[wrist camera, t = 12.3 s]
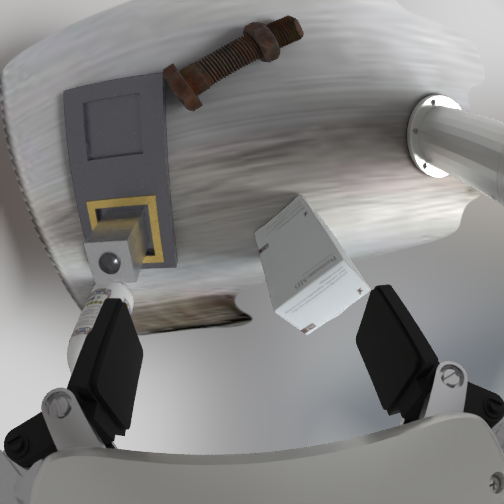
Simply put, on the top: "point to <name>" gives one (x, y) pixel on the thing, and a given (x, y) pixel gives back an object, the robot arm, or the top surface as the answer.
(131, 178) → the grey slotted board
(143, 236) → the brushed steel block
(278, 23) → the bolt
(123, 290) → the bath foam
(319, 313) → the skincare box
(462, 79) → the top surface
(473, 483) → the robot arm
